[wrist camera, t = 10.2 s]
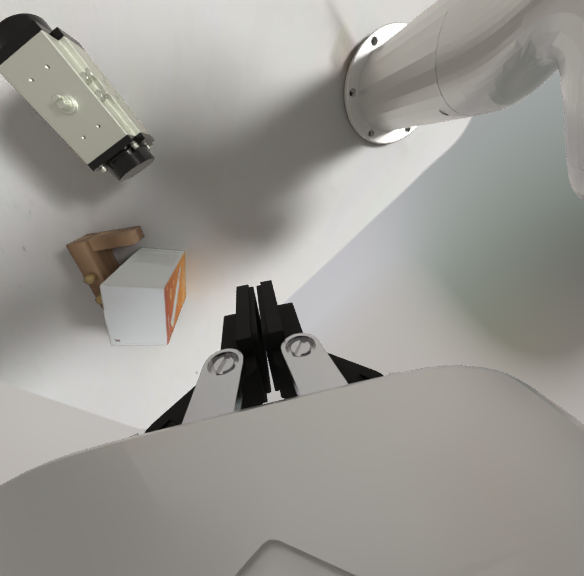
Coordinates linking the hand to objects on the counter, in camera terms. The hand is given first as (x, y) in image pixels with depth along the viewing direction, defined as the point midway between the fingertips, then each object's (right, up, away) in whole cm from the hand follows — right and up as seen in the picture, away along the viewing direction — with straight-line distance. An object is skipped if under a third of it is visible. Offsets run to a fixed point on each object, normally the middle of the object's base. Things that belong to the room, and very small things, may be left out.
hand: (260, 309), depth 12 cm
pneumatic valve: (-19, +21, +18) cm, 34 cm away
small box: (-18, +4, +27) cm, 33 cm away
